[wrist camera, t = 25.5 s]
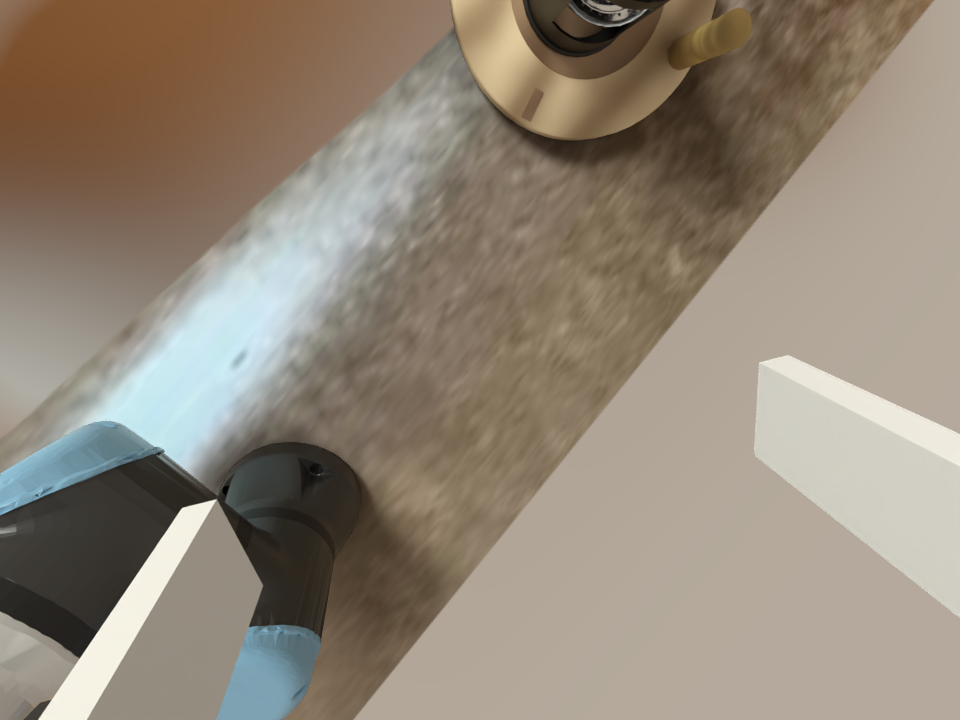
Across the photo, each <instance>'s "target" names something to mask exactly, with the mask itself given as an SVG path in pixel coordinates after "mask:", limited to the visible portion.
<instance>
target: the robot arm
mask: <svg viewBox="0 0 960 720" xmlns="http://www.w3.org/2000/svg"><path fill="white" fill-rule="evenodd" d="M758 376H759V377H758V392H757V409H756V426H755V444H754V455H755V456H756V457H757V458H758V459H760V460H761V461H762V462H763V463H765V464H766V465H767V466H768V467H770V468H771V469H772V470H774V471H775V472H776V473H777V474H779V475H780V476H781V477H782V478H784V479H785V480H786V481H787V482H789V483H790V484H791V485H792V486H794V487H795V488H796V489H798V490H799V491H800V492H801V493H803V494H804V495H805V496H806V497H808V498H809V499H810V500H811V501H813V502H814V503H815V504H817V505H818V506H819V507H820V508H822V509H823V510H824V511H825V512H827V513H828V514H829V515H831V516H832V517H833V518H834V519H835V520H837V521H838V522H839V523H841V524H842V525H843V526H844V527H846V528H847V529H848V530H849V531H851V532H852V533H853V534H854V535H856V536H857V537H858V538H859V539H861V540H862V541H863V542H865V543H866V544H867V545H869V546H870V547H871V548H872V549H873V550H875V551H876V552H877V553H879V554H880V555H881V556H882V557H883V558H885V559H886V560H887V561H888V562H890V563H891V564H893V565H894V566H895V567H896V568H897V569H899V570H900V571H901V572H902V573H904V574H905V575H906V576H907V577H909V578H910V579H911V580H912V581H914V582H915V583H916V584H918V585H919V586H920V587H922V588H923V589H924V590H925V591H926V592H928V593H929V594H930V595H931V596H933V597H934V598H935V599H936V600H938V601H939V602H940V603H942V604H943V605H944V606H945V607H947V608H948V609H949V610H950V611H952V612H953V613H954V614H955V615H957V616H958V617H959V618H960V434H958V433H956V432H954V431H952V430H950V429H948V428H945V427H943V426H941V425H939V424H937V423H935V422H932V421H930V420H928V419H926V418H924V417H921V416H919V415H917V414H915V413H913V412H911V411H908V410H906V409H904V408H902V407H900V406H897V405H895V404H893V403H891V402H889V401H887V400H884V399H882V398H880V397H878V396H876V395H874V394H871V393H869V392H867V391H865V390H863V389H861V388H858V387H856V386H854V385H852V384H849V383H848V382H845V381H843V380H841V379H839V378H837V377H834V376H832V375H830V374H828V373H826V372H823V371H821V370H819V369H817V368H815V367H813V366H811V365H808V364H806V363H804V362H802V361H799V360H797V359H795V358H793V357H791V356H789V355H787V356H784V357H780V358H775V359H771V360H767V361H764V362H760V363H759V375H758ZM360 502H361V493H360V487H359V484H358V481H357V479H356V477H355V475H354V473H353V472H352V470H351V469H350V468H349V467H348V466H347V464H346V463H344V462H343V461H342V460H341V459H340V458H338V457H337V456H336V455H334V454H332V453H331V452H329V451H327V450H324V449H322V448H319V447H316V446H313V445H309V444H303V443H292V442H288V443H277V444H271V445H267V446H264V447H261V448H258V449H256V450H254V451H252V452H250V453H249V454H247V455H245V456H244V457H243V458H241V459H240V460H239V461H238V462H237V463H236V464H235V465H234V466H233V468H232V469H231V470H230V472H229V474H228V475H227V477H226V479H225V480H224V482H223V484H222V486H221V488H220V490H219V493H218V496H217V495H215V494H214V493H213V492H212V491H210V490H209V489H208V488H207V487H205V486H204V485H203V484H202V483H200V482H199V481H198V480H197V479H195V478H194V477H193V476H192V475H190V474H189V473H188V472H187V471H185V470H184V469H183V468H182V467H180V466H179V465H178V464H177V463H175V462H174V461H173V460H172V459H170V458H169V457H168V456H167V455H165V454H164V450H163V449H162V448H160V447H154V446H152V445H151V444H150V443H148V442H147V441H145V440H144V439H143V438H141V437H140V436H138V435H137V434H136V433H134V432H133V431H131V430H130V429H128V428H127V427H126V426H124V425H122V424H120V423H116V422H111V421H101V422H95V423H91V424H88V425H86V426H83V427H81V428H79V429H77V430H75V431H73V432H72V433H70V434H68V435H66V436H64V437H62V438H60V439H59V440H57V441H55V442H53V443H51V444H50V445H48V446H46V447H44V448H43V449H41V450H39V451H37V452H36V453H34V454H32V455H30V456H29V457H27V458H25V459H24V460H22V461H20V462H19V463H17V464H15V465H14V466H12V467H10V468H9V469H7V470H5V471H4V472H2V473H0V720H283V719H284V718H285V717H287V716H288V715H289V714H290V713H291V712H292V711H293V710H294V709H295V708H296V707H297V706H298V704H299V703H300V702H301V700H302V699H303V697H304V696H305V694H306V692H307V689H308V687H309V684H310V680H311V677H312V673H313V669H314V665H315V661H316V658H317V656H318V654H319V652H320V646H321V637H322V631H323V625H324V619H325V613H326V607H327V601H328V595H329V589H330V583H331V577H332V571H333V565H334V560H335V557H336V556H337V554H338V552H339V551H340V549H341V548H342V546H343V544H344V543H345V541H346V540H347V539H348V537H349V536H350V534H351V533H352V531H353V530H354V527H355V525H356V522H357V520H358V516H359V509H360ZM51 699H52V700H51Z"/></svg>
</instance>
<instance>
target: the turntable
mask: <svg viewBox="0 0 960 720" xmlns="http://www.w3.org/2000/svg"><path fill="white" fill-rule="evenodd" d="M715 2H716V0H670V1H669V2H668V3H666V4H665V5H663V6H662V7H660V8H659V9H657V10H656V11H654V12H653V13H651V14H650V15H648V16H647V17H645V18H644V19H642V20H641V21H639V22H638V23H636V24H635V25H633V26H632V27H631V28H629V29H628V30H626V31H625V32H623V33H622V34H620V35H619V36H618V37H617V38H616V39H615V40H614V41H613V42H612V43H611V44H610V45H609V46H608V47H606V48H604V49H603V50H601V51H600V52H598V53H596V54H593V55H590V56H587V57H578V58H575V57H567V56H564V55H561V54H559V53H556V52H554V51H553V50H551V49H550V48H548V47H547V46H546V45H545V44H544V43H543V42H542V41H541V40H540V39H539V38H538V37H537V35H536V34H535V32H534V31H533V29H532V28H531V26H530V23H529V21H528V18H527V16H526V13H525V9H524V5H523V0H450V5H451V13H452V19H453V24H454V28H455V33H456V37H457V40H458V43H459V46H460V49H461V52H462V55H463V57H464V59H465V61H466V63H467V66H468V68H469V70H470V72H471V74H472V76H473V77H474V79H475V80H476V82H477V84H478V85H479V87H480V88H481V90H482V91H483V92H484V94H485V95H486V96H487V97H488V99H489V100H490V101H491V102H492V103H493V104H494V105H495V106H496V107H497V108H498V109H499V110H500V111H501V112H502V113H503V114H504V115H505V116H507V117H508V118H509V119H511V120H512V121H514V122H515V123H516V124H518V125H519V126H521V127H523V128H525V129H527V130H529V131H531V132H533V133H536V134H539V135H542V136H545V137H548V138H553V139H559V140H575V141H578V140H586V139H593V138H598V137H602V136H606V135H609V134H613V133H616V132H619V131H621V130H623V129H626V128H628V127H630V126H632V125H634V124H635V123H637V122H639V121H640V120H642V119H644V118H645V117H646V116H648V115H649V114H650V113H652V112H653V111H654V110H655V109H657V108H658V107H659V106H660V105H661V104H662V103H663V102H664V101H665V100H666V99H667V98H668V97H669V96H670V95H671V94H672V93H673V91H674V90H675V89H676V88H677V86H678V85H679V84H680V83H681V81H682V80H683V79H684V77H685V75H686V74H687V72H688V71H689V69H690V68H691V66H693V65H696V64H698V63H701V62H703V61H706V60H708V59H711V58H713V57H716V56H719V55H721V54H724V53H726V52H729V51H731V50H734V49H736V48H739V47H741V46H742V45H743V44H744V43H745V42H746V41H747V40H748V38H749V36H750V34H751V30H752V20H751V16H750V14H749V13H748V12H747V11H746V10H745V9H742V8H736V9H733V10H731V11H729V12H728V13H726V14H724V15H722V16H720V17H718V18H716V19H714V20H712V21H711V18H712V15H713V11H714V7H715ZM647 10H648V9H647ZM647 10H646V11H647ZM554 21H555V22H556V24H557V25H558V26H559V27H560V28H561V29H562V30H564V31H565V32H567V33H568V34H570V35H571V36H573V37H588V36H591V35H594V34H596V33H598V32H599V31H601V30H602V29H603V28H604V27H605V26H598V25H595V24H592V23H590V22H587V21H585V20H583V19H582V18H580V17H579V16H577V15H576V14H575V13H574V12H573V11H572V10H571V9H569V7H568V6H567V7H566V8H565V9H564V10H563V11H562V12H561V13H560V14H559V15H558V16H557V17H556V18H555V19H554Z"/></svg>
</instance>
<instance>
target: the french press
mask: <svg viewBox="0 0 960 720" xmlns="http://www.w3.org/2000/svg"><path fill="white" fill-rule="evenodd" d="M669 1H670V0H523V5H524V9H525V13H526V16H527V18H528V21H529V23H530V26H531V28H532V29H533V31H534V32H535V34H536V35H537V37H538V38H539V39H540V40H541V41H542V42H543V43H544V44H545V45H546V46H547V47H548V48H550V49H551V50H553V51H554V52H556V53H559V54H561V55H564V56H567V57H575V58H578V57H587V56H590V55H593V54H596V53H598V52H600V51H601V50H603V49H604V48H606V47H608V46H609V45H610V44H611V43H612V42H613V41H614V40H615V39H616V38H617V37H618V36H619V35H620V34H622V33H623V32H625V31H626V30H628V29H629V28H631V27H632V26H633V25H635V24H636V23H638V22H639V21H641V20H642V19H644V18H645V17H647V16H648V15H650V14H651V13H653V12H654V11H656V10H657V9H659V8H660V7H662V6H663V5H665V4H666V3H668V2H669ZM567 6H568V7H569V9H571V10H572V11H573V12H574V13H575V14H576V15H577V16H579V17H580V18H582V19H583V20H585V21H587V22H590V23H592V24H595V25H598V26H605V27H604V28H603V29H602V30H601V31H599V32H598V33H596V34H594V35H591V36H588V37H573V36H571V35H570V34H568V33H567V32H565V31H564V30H562V29H561V28H560V27H559V26H558V25H557V24H556V22H555V21H554V19H555V18H556V17H557V16H558V15H559V14H560V13H561V12H562V11H563V10H564V9H565V8H566V7H567ZM647 9H648V10H647ZM646 10H647V11H646Z"/></svg>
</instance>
